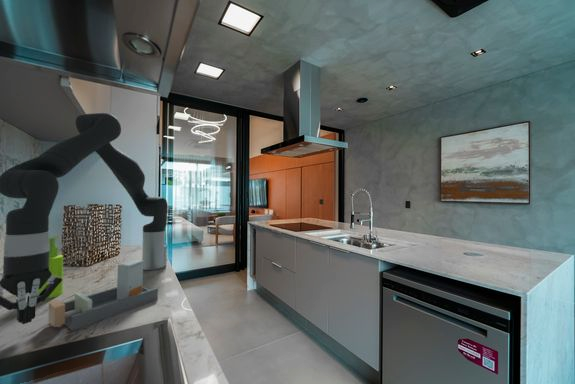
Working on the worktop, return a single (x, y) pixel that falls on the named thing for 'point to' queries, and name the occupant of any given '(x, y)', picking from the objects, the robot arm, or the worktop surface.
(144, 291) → the pusher lane
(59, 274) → the soap dispenser
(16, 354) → the worktop surface
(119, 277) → the skincare box
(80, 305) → the pusher
